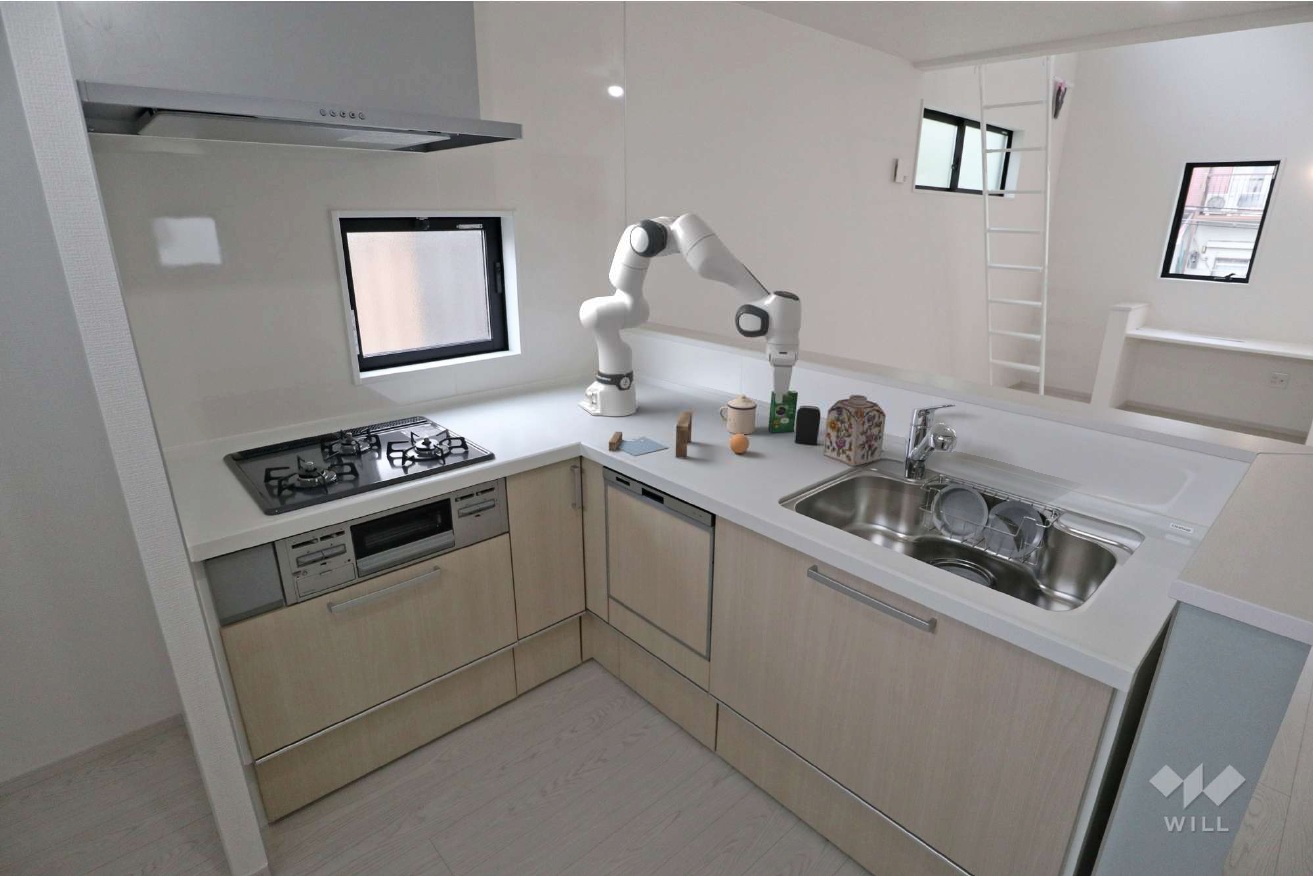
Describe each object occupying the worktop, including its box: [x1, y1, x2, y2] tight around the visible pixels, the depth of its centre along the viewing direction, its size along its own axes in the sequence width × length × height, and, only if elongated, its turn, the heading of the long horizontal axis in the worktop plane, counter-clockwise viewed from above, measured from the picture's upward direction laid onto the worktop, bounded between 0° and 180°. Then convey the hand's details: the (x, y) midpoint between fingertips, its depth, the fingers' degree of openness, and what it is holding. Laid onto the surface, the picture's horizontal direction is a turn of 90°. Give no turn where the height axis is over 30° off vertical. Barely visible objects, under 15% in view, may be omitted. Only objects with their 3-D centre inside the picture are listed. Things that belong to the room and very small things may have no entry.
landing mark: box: [617, 436, 669, 457], centre depth 198 cm, size 12×12×1 cm
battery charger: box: [794, 405, 821, 446], centre depth 202 cm, size 7×4×11 cm, turn 75°
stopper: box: [608, 431, 623, 452], centre depth 198 cm, size 2×10×2 cm, turn 172°
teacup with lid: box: [718, 394, 758, 435], centre depth 212 cm, size 12×9×12 cm
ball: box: [729, 434, 750, 454], centre depth 193 cm, size 6×6×6 cm
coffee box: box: [767, 390, 799, 434], centre depth 212 cm, size 8×3×13 cm, turn 102°
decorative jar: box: [823, 394, 887, 467], centre depth 189 cm, size 12×12×18 cm
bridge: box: [675, 410, 693, 459], centre depth 195 cm, size 3×15×9 cm, turn 172°
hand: (778, 402), depth 188 cm, fingers closed
